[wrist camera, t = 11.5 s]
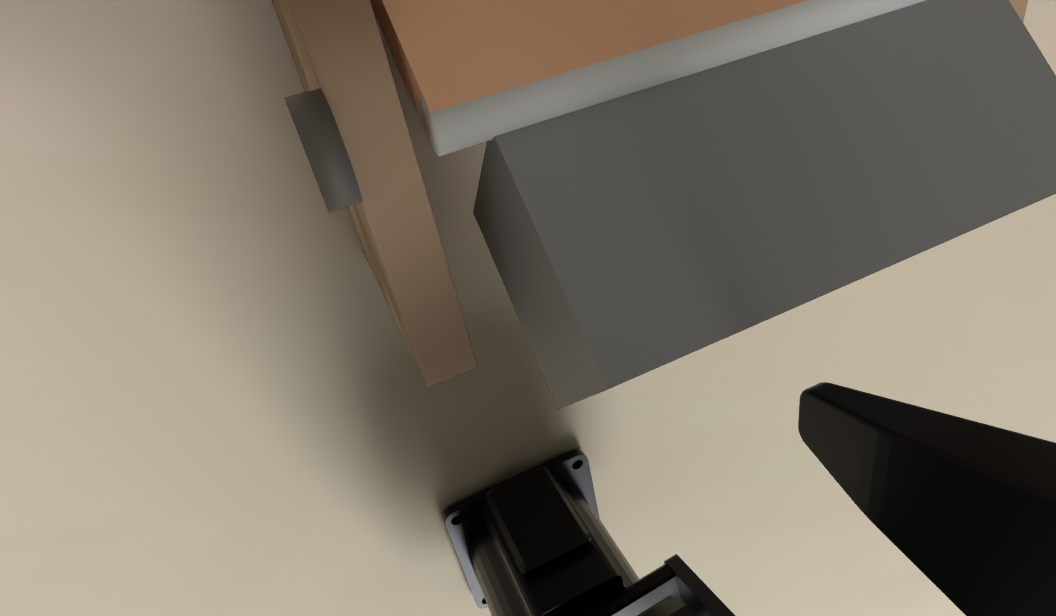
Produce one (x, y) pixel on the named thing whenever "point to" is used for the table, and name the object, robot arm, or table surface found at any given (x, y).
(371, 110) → the trapdoor frame
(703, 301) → the trapdoor
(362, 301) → the table surface
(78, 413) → the table surface
